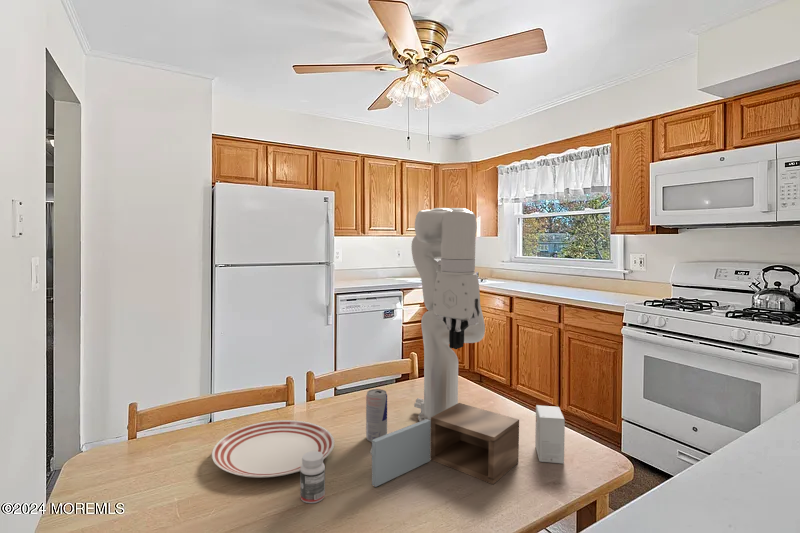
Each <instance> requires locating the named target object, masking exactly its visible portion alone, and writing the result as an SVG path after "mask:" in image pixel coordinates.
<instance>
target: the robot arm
mask: <svg viewBox="0 0 800 533" xmlns="http://www.w3.org/2000/svg"><path fill="white" fill-rule="evenodd" d="M476 217H477V216H476V214H475V213H474V212H473V211H470V210H469V209H467V208H465V207H433V208H431V209H425V210H424V209H423V210H419V211H418V212H417V213H416V216H415V219H414V233H415V236H414V237H413V238H412V241H411V255H412V260H413V264H414V266H415V269H416V271H417V273H418V274H419V276H420V278H421V279H420V280H421V287H422V288H421V289H422V297H423V303H424V306H425V309H426V310H427V311H425V312H424V313H423V314H422V316H421V321H420V322H421V323H420V327H421V335H422V341H423V342H422V343H423V353H424V354H423V356H424V357H423V358H424V359H423V369H424V371H423V375H424V376H423V378H424V380H423V398H420V397H417V398H416V399H415V402H414V404H413V406H414V408H417V409H420V412H419V413H418V417H417V418H418V422H420V421H423V420H425V419H428V420H430V421H431V417H433V416H434V415H436V414H438V413H440V412H442V411H444V410H446V409H448V408H450V407H452V406H454V405H456V404H458V403H459V357H458V356H457V354H456V352H455V351H454V350H458V349H461V348H463V347H464V344H474V343H479V342H481V341H482V340H483V339H484V337H485V333H486V325H485V320H484V319H485V318H484V315H483V314H484V313H483V310H482V306H481V292H480V283H479V277H478V274H477V273H476V236H477V235H476V234H477V229H478V226H477V218H476ZM436 259H438V261H437V260H436ZM453 349H454V350H453ZM430 429H431V427H430Z"/></svg>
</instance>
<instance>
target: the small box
mask: <svg viewBox="0 0 800 533" xmlns="http://www.w3.org/2000/svg"><path fill="white" fill-rule="evenodd" d="M565 420H566V419H565V417H564V415H563V412H562V411H561V408H560V407H559V406H549V405H539V404H536V406H535V435H534V436H535V441H534V442H535V450H536V454H537V458H538V462H541V463H553V464H562V465H563V464H565V436H566V435H565V430H566V429H565V426H566V424H565V422H566V421H565Z"/></svg>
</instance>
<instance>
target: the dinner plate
mask: <svg viewBox="0 0 800 533" xmlns="http://www.w3.org/2000/svg"><path fill="white" fill-rule="evenodd" d="M334 447H335V438H334V436H333V434H332V433H331V432H330V431H329V429H326V428H325V427H323V426H322V425H318V424H315V423H313V422H308V421H302V420H293V419H291V420H290V419H286V420H269V421H261V422H258V423H253V424H250V425H247V426H243V427H241V428H239V429H236V430H234V431H232V432H230V433H228V434H226V435H225V436H223V437H222V438H220V440H219V441H218V442H217V443H215V445H214V447H213V448H212V451H211V459H212V461H213V463H214V464H215V466H217V467H218V468H219V469H221V470H223V471H224V472H227V473H230V474H233V475H236V476H238V477H239V476H240V477H246V478H262V479H263V478H275V477H281V476H286V475H291V474H294V473H298V472H299V473H300V468H301V465H302V457H303V455H304V454H305V453H308V452H312V451H317V452H321V453H322V454H323V461H324V460H325V459H326V458H327V457H328V456H329V455H331V453H332V452H333V450H334Z"/></svg>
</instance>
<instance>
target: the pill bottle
mask: <svg viewBox="0 0 800 533" xmlns="http://www.w3.org/2000/svg"><path fill="white" fill-rule="evenodd" d="M325 467H326V466H325V463H324V460H323V454H322V453H321V452H317V451H312V452H308V453H305V454H304V455H303V457H302V465H301V468H300V471H299V473H300V474H299V477H300V478H299V479H300V480H299V484H300V486H299V487H300V490H299V491H300V495H299V496H300V499H301V501H302V502H303V503H306V504H316V503H319V502H321V501H322V500H323V499H324V498H325V497H326V496H325V495H326V474H325V473H326V468H325Z"/></svg>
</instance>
